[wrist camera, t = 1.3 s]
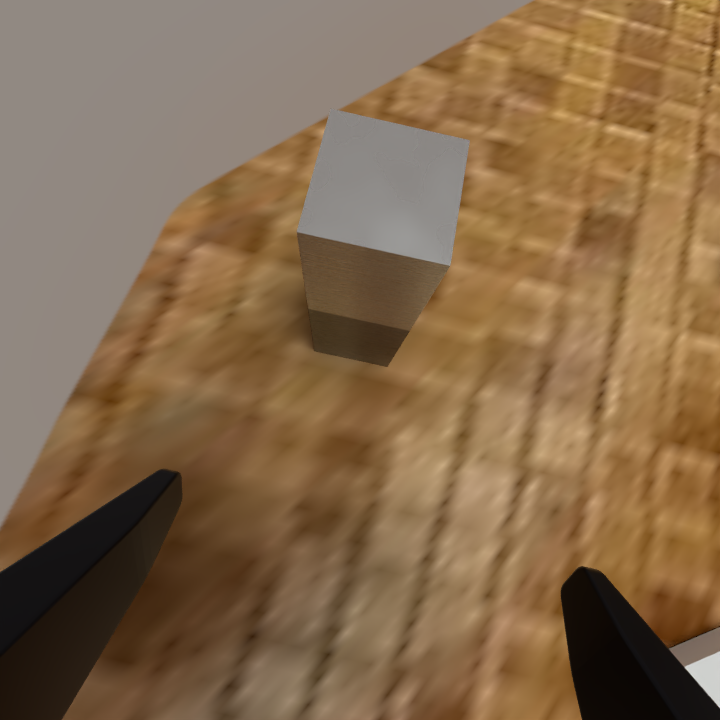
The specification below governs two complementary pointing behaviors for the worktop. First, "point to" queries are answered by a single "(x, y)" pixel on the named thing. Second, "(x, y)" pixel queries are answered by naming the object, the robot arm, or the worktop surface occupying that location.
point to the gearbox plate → (702, 661)
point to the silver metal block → (377, 232)
